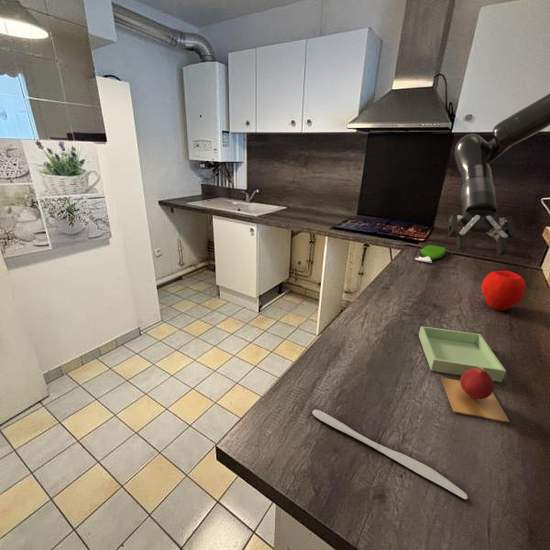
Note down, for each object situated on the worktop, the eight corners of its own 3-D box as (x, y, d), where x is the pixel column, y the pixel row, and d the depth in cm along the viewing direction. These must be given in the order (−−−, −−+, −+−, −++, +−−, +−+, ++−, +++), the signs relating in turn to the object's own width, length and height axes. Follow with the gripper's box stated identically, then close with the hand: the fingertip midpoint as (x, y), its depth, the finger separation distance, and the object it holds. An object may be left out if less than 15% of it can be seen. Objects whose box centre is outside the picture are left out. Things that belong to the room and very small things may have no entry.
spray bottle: (446, 253, 155) (435, 266, 138) (425, 249, 161) (411, 261, 144) (448, 248, 154) (436, 260, 137) (426, 244, 160) (412, 255, 143)
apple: (476, 296, 108) (487, 263, 103) (516, 305, 102) (529, 270, 97) (474, 309, 100) (486, 273, 94) (517, 320, 93) (533, 282, 88)
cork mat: (488, 386, 66) (488, 385, 66) (509, 423, 58) (509, 421, 57) (440, 378, 69) (441, 377, 68) (453, 412, 60) (454, 411, 60)
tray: (477, 343, 81) (480, 334, 80) (501, 382, 68) (506, 371, 67) (418, 335, 85) (420, 326, 83) (430, 370, 71) (433, 359, 70)
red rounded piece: (470, 384, 66) (480, 356, 63) (494, 403, 61) (506, 374, 58) (450, 390, 65) (459, 361, 62) (473, 410, 60) (485, 380, 57)
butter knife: (317, 404, 60) (310, 413, 58) (468, 487, 46) (467, 504, 44) (317, 406, 61) (310, 415, 58) (467, 490, 46) (466, 506, 44)
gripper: (454, 188, 76) (456, 242, 70) (516, 190, 73) (524, 247, 67) (443, 205, 83) (445, 256, 77) (500, 208, 80) (506, 261, 74)
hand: (482, 252), depth 72 cm, fingers open, 8 cm apart
